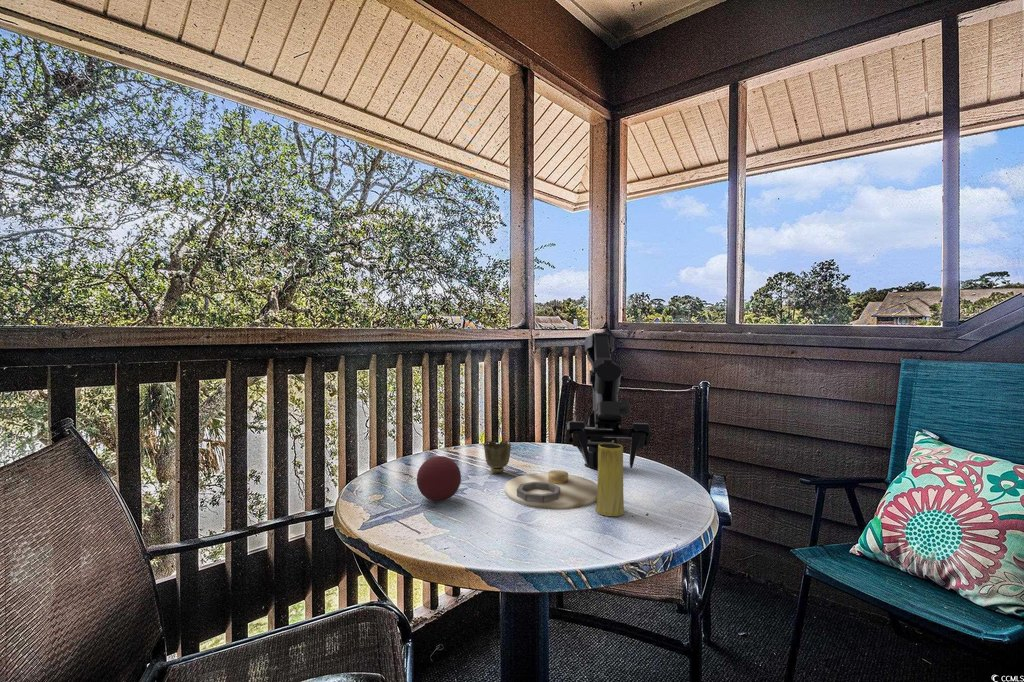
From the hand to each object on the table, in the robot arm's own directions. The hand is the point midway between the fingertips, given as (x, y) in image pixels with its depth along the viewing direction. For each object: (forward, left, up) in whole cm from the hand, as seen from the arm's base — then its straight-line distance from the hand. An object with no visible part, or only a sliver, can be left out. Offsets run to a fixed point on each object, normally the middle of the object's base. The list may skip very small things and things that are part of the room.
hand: (609, 466), depth 103 cm
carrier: (+4, -16, -9) cm, 19 cm away
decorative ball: (+30, -24, -10) cm, 39 cm away
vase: (+1, +1, -10) cm, 10 cm away
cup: (+8, -36, -10) cm, 38 cm away
